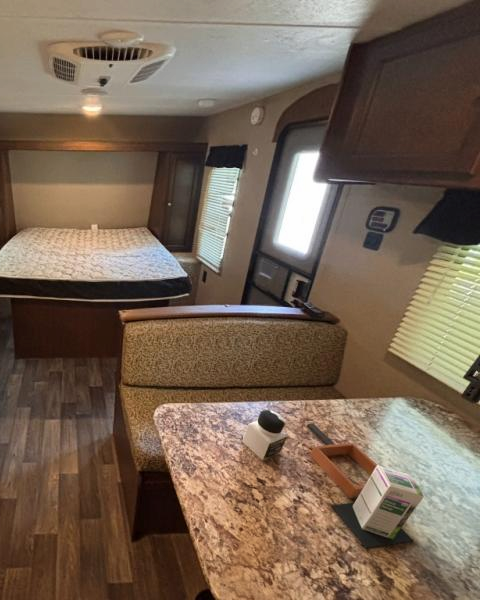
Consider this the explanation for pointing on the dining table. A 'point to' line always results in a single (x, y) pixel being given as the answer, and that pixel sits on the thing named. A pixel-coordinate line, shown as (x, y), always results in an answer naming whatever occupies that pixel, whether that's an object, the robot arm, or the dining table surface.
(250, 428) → the medicine bottle
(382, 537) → the mat
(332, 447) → the pan
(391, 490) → the syrup box
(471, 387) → the robot arm
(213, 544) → the dining table surface
